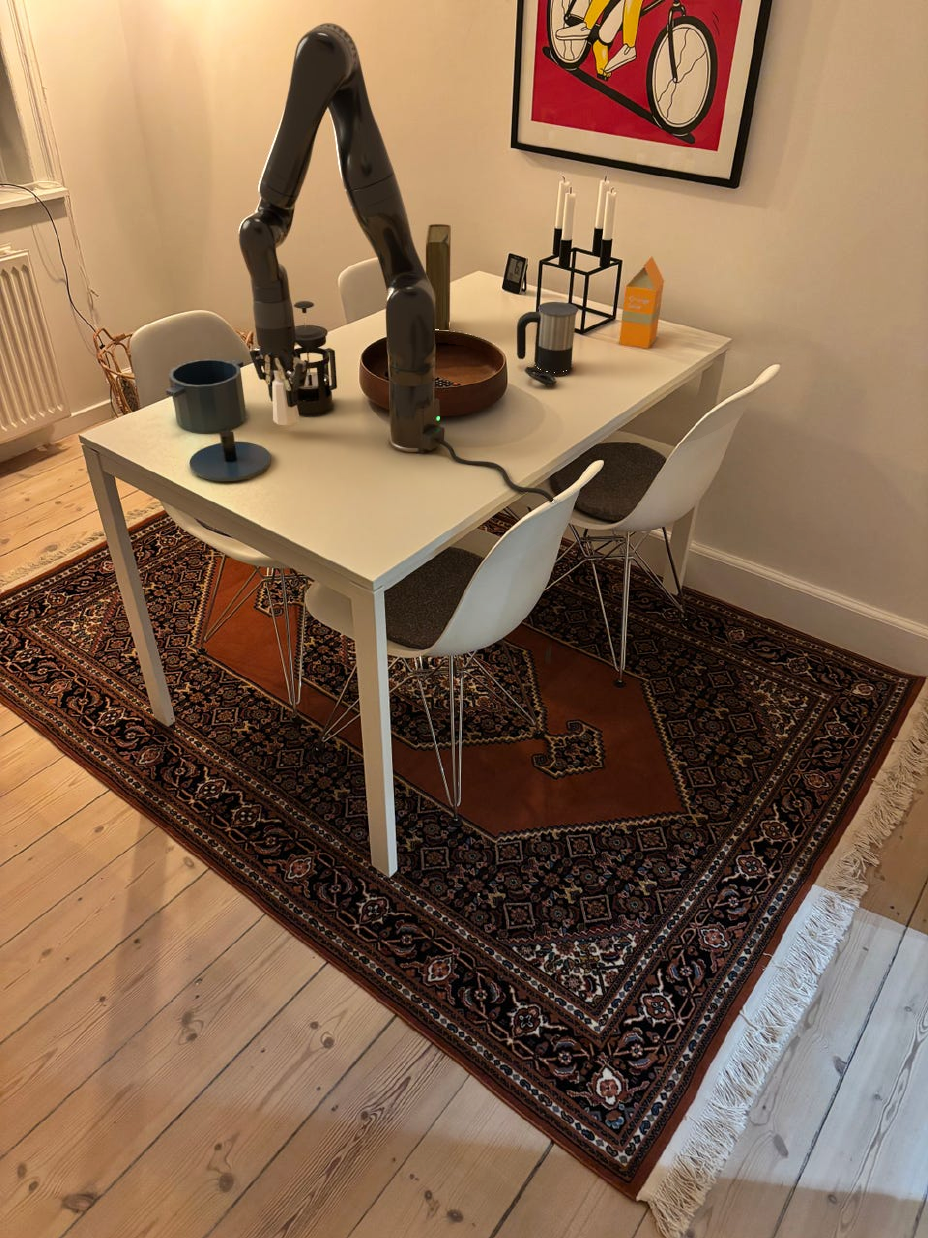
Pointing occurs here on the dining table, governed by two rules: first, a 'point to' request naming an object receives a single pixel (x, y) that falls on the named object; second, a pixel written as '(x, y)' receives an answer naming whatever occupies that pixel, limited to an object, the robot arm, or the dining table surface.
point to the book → (439, 271)
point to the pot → (208, 395)
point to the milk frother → (549, 340)
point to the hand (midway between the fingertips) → (284, 402)
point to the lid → (230, 459)
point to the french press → (315, 381)
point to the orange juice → (642, 307)
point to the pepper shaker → (282, 403)
